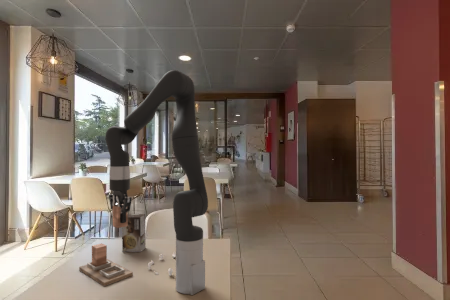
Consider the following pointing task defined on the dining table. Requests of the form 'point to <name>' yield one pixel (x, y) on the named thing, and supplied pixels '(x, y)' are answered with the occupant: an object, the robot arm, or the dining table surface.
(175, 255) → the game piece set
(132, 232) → the coffee box
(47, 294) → the dining table surface
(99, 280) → the board
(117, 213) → the pin
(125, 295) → the dining table surface
